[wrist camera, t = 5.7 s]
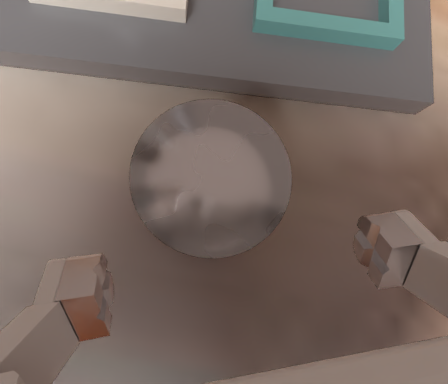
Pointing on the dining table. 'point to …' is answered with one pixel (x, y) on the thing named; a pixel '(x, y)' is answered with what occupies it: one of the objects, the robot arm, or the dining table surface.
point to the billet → (210, 178)
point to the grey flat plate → (235, 46)
